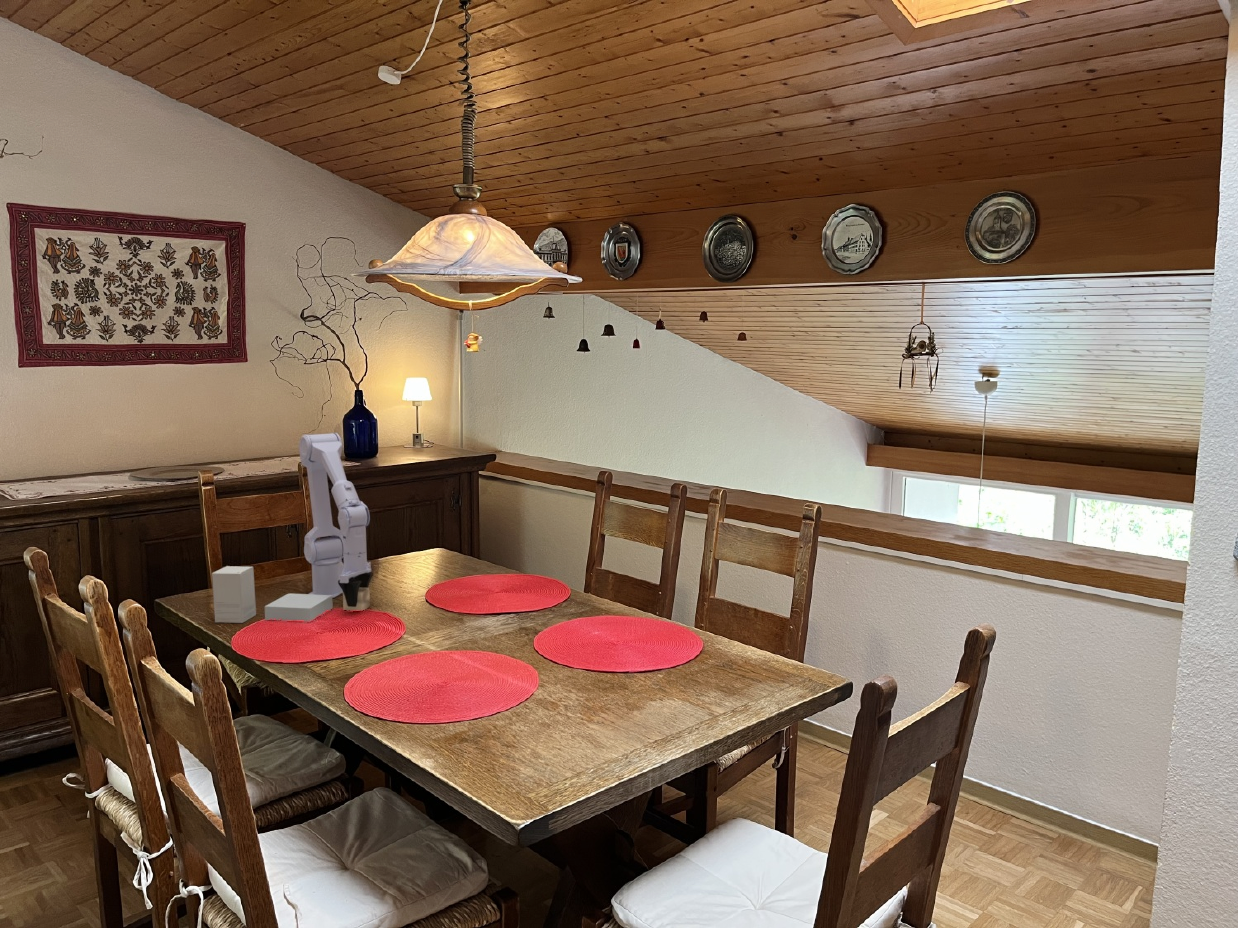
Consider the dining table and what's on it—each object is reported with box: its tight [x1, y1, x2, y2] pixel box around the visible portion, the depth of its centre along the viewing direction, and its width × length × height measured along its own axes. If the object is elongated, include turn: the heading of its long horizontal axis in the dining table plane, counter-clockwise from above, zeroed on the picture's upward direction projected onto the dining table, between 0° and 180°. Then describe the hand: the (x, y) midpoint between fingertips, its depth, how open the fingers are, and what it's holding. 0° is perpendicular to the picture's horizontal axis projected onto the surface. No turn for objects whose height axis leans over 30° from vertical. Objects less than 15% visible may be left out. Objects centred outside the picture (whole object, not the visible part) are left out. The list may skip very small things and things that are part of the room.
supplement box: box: [211, 565, 257, 624], centre depth 227 cm, size 7×7×13 cm
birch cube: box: [342, 587, 371, 611], centre depth 237 cm, size 5×5×5 cm
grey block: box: [264, 593, 334, 621], centre depth 232 cm, size 12×12×4 cm
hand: (356, 603), depth 237 cm, fingers closed on birch cube, 5 cm apart
